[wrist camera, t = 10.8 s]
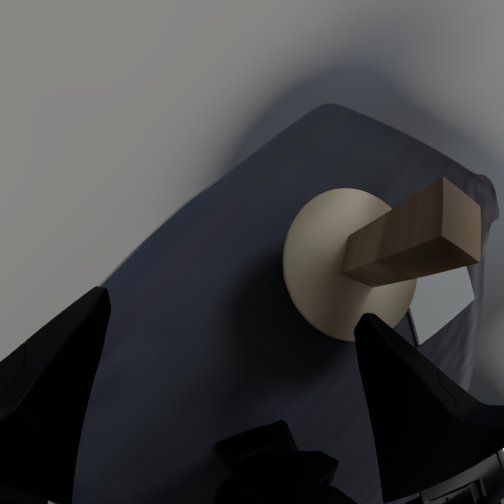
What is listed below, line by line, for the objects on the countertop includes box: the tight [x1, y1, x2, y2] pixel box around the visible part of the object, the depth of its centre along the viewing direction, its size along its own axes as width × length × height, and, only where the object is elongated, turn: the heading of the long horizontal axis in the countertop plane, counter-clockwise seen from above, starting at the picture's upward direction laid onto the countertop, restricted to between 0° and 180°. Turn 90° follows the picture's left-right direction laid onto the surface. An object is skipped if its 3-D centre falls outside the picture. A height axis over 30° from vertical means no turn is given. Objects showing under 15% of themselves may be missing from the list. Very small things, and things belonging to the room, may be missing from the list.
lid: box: [283, 177, 481, 341], centre depth 14 cm, size 12×12×11 cm
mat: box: [408, 266, 475, 345], centre depth 26 cm, size 12×12×1 cm
